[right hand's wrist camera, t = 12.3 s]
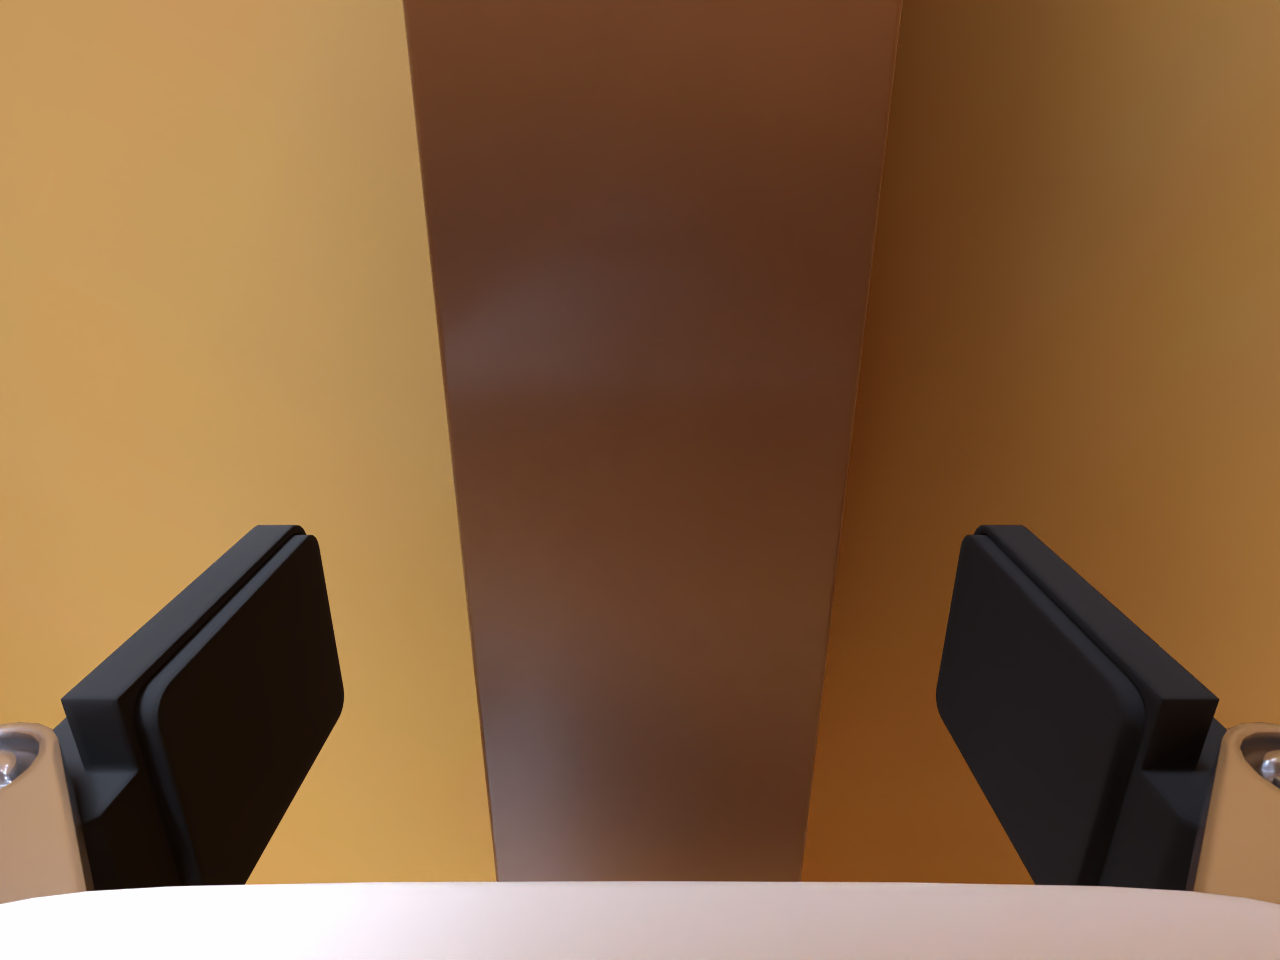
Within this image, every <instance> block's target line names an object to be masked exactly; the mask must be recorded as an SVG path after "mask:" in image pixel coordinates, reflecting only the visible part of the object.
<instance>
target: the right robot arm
mask: <svg viewBox="0 0 1280 960" xmlns="http://www.w3.org/2000/svg"><path fill="white" fill-rule="evenodd" d="M61 702H62V705H63V708H64V711H65V714H66V718H65V719H64V720H63V721H62V722H61V723H60V724H59V725H58V726H57V727H56V728H54V729H53V730H52V729H51V728H48V727H46V726H43V725H41V724H38V723H22V722H18V723H10V724H2V725H0V960H1280V725H1278V724H1270V723H1262V722H1258V723H1242V724H1239V725H1237V726H1234V727H1232V728H1229V729H1228V730H1227V729H1226V728H1224V727H1223V726H1222V725H1221V724H1220V723H1219V722H1218V721H1217V720H1216V719H1215V718H1214V717H1213V716H1214V714H1215V711H1216V708H1217V705H1218V702H1219V699H1218V698H1217V697H1216V696H1215V695H1214V694H1213V693H1212V692H1211V691H1209V690H1208V689H1207V688H1206V687H1205V686H1204V685H1203V684H1202V683H1200V682H1199V681H1198V680H1197V679H1196V678H1195V677H1194V676H1193V675H1191V674H1190V673H1189V672H1188V671H1187V670H1186V669H1185V668H1184V667H1182V666H1181V665H1180V664H1179V663H1178V662H1177V661H1176V660H1175V659H1173V658H1172V657H1171V656H1170V655H1169V654H1168V653H1167V652H1166V651H1164V650H1163V649H1162V648H1161V647H1160V646H1159V645H1158V644H1157V643H1155V642H1154V641H1153V640H1152V639H1151V638H1150V637H1149V636H1148V635H1146V634H1145V633H1144V632H1143V631H1142V630H1141V629H1140V628H1139V627H1137V626H1136V625H1135V624H1134V623H1133V622H1132V621H1131V620H1130V619H1128V618H1127V617H1126V616H1125V615H1124V614H1123V613H1122V612H1121V611H1119V610H1118V609H1117V608H1116V607H1115V606H1114V605H1113V604H1112V603H1110V602H1109V601H1108V600H1107V599H1106V598H1105V597H1104V596H1103V595H1101V594H1100V593H1099V592H1098V591H1097V590H1096V589H1095V588H1094V587H1092V586H1091V585H1090V584H1089V583H1088V582H1087V581H1086V580H1085V579H1083V578H1082V577H1081V576H1080V575H1079V574H1078V573H1077V572H1076V571H1074V570H1073V569H1072V568H1071V567H1070V566H1069V565H1068V564H1067V563H1065V562H1064V561H1063V560H1062V559H1061V558H1060V557H1059V556H1058V555H1056V554H1055V553H1054V552H1053V551H1052V550H1051V549H1050V548H1049V547H1048V546H1046V545H1045V544H1044V543H1043V542H1042V541H1041V540H1040V539H1039V538H1037V537H1036V536H1035V535H1034V534H1033V533H1032V532H1031V531H1030V530H1028V529H1027V528H1026V527H1024V526H1022V525H981V526H979V527H978V528H977V529H976V531H975V533H974V535H967V536H966V537H964V539H963V541H962V544H961V549H960V555H959V560H958V566H957V572H956V578H955V584H954V589H953V595H952V601H951V607H950V613H949V618H948V624H947V630H946V636H945V642H944V648H943V653H942V659H941V665H940V671H939V677H938V682H937V688H936V702H937V708H938V711H939V714H940V716H941V718H942V720H943V722H944V724H945V725H946V727H947V729H948V731H949V733H950V734H951V736H952V738H953V740H954V741H955V743H956V745H957V747H958V749H959V750H960V752H961V754H962V756H963V757H964V759H965V761H966V763H967V764H968V766H969V768H970V770H971V772H972V773H973V775H974V777H975V779H976V780H977V782H978V784H979V786H980V787H981V789H982V791H983V793H984V795H985V796H986V798H987V800H988V802H989V803H990V805H991V807H992V809H993V811H994V812H995V814H996V816H997V818H998V819H999V821H1000V823H1001V825H1002V826H1003V828H1004V830H1005V832H1006V834H1007V835H1008V837H1009V839H1010V841H1011V842H1012V844H1013V846H1014V848H1015V849H1016V851H1017V853H1018V855H1019V857H1020V858H1021V860H1022V862H1023V864H1024V865H1025V867H1026V869H1027V871H1028V873H1029V874H1030V876H1031V878H1032V880H1033V881H1034V883H1035V885H1013V884H961V883H909V882H715V881H565V882H371V883H319V884H267V885H245V883H246V881H247V880H248V878H249V876H250V874H251V873H252V871H253V869H254V867H255V865H256V864H257V862H258V860H259V858H260V857H261V855H262V853H263V851H264V849H265V848H266V846H267V844H268V842H269V841H270V839H271V837H272V835H273V834H274V832H275V830H276V828H277V826H278V825H279V823H280V821H281V819H282V818H283V816H284V814H285V812H286V811H287V809H288V807H289V805H290V803H291V802H292V800H293V798H294V796H295V795H296V793H297V791H298V789H299V787H300V786H301V784H302V782H303V780H304V779H305V777H306V775H307V773H308V772H309V770H310V768H311V766H312V764H313V763H314V761H315V759H316V757H317V756H318V754H319V752H320V750H321V749H322V747H323V745H324V743H325V741H326V740H327V738H328V736H329V734H330V733H331V731H332V729H333V727H334V725H335V724H336V722H337V720H338V718H339V716H340V714H341V711H342V708H343V702H344V688H343V682H342V677H341V671H340V665H339V659H338V653H337V648H336V642H335V636H334V630H333V624H332V619H331V613H330V607H329V601H328V595H327V589H326V584H325V578H324V572H323V566H322V560H321V555H320V549H319V544H318V541H317V539H316V537H314V536H313V535H306V533H305V531H304V529H303V528H302V527H301V526H299V525H258V526H256V527H254V528H253V529H252V530H250V531H249V532H248V533H247V534H246V535H245V536H244V537H243V538H241V539H240V540H239V541H238V542H237V543H236V544H235V545H234V546H232V547H231V548H230V549H229V550H228V551H227V552H226V553H225V554H223V555H222V556H221V557H220V558H219V559H218V560H217V561H216V562H214V563H213V564H212V565H211V566H210V567H209V568H208V569H207V570H205V571H204V572H203V573H202V574H201V575H200V576H199V577H198V578H197V579H195V580H194V581H193V582H192V583H191V584H190V585H189V586H188V587H186V588H185V589H184V590H183V591H182V592H181V593H180V594H179V595H177V596H176V597H175V598H174V599H173V600H172V601H171V602H170V603H168V604H167V605H166V606H165V607H164V608H163V609H162V610H161V611H159V612H158V613H157V614H156V615H155V616H154V617H153V618H152V619H150V620H149V621H148V622H147V623H146V624H145V625H144V626H143V627H141V628H140V629H139V630H138V631H137V632H136V633H135V634H134V635H132V636H131V637H130V638H129V639H128V640H127V641H126V642H125V643H123V644H122V645H121V646H120V647H119V648H118V649H117V650H116V651H114V652H113V653H112V654H111V655H110V656H109V657H108V658H107V659H105V660H104V661H103V662H102V663H101V664H100V665H99V666H98V667H96V668H95V669H94V670H93V671H92V672H91V673H90V674H89V675H87V676H86V677H85V678H84V679H83V680H82V681H81V682H80V683H78V684H77V685H76V686H75V687H74V688H73V689H72V690H71V691H69V692H68V693H67V694H66V695H65V696H64V697H63V698H62V699H61Z"/></svg>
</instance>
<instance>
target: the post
mask: <svg viewBox="0 0 1280 960" xmlns="http://www.w3.org/2000/svg"><path fill="white" fill-rule="evenodd" d="M902 1H903V0H403V10H404V19H405V28H406V38H407V47H408V56H409V66H410V75H411V84H412V94H413V103H414V113H415V122H416V131H417V141H418V150H419V159H420V169H421V178H422V188H423V197H424V206H425V216H426V225H427V234H428V244H429V253H430V263H431V272H432V281H433V291H434V300H435V309H436V319H437V328H438V337H439V347H440V356H441V366H442V375H443V384H444V394H445V403H446V412H447V422H448V431H449V441H450V450H451V459H452V469H453V478H454V487H455V497H456V506H457V515H458V525H459V534H460V544H461V553H462V562H463V572H464V581H465V590H466V600H467V609H468V619H469V628H470V637H471V647H472V656H473V665H474V675H475V684H476V694H477V703H478V712H479V722H480V731H481V740H482V750H483V759H484V768H485V778H486V787H487V797H488V806H489V815H490V825H491V834H492V843H493V853H494V862H495V872H496V881H497V882H565V881H715V882H801V875H802V866H803V858H804V849H805V840H806V832H807V823H808V814H809V806H810V797H811V789H812V780H813V771H814V763H815V754H816V745H817V737H818V728H819V719H820V711H821V702H822V693H823V685H824V676H825V667H826V659H827V650H828V641H829V633H830V624H831V616H832V607H833V598H834V590H835V581H836V572H837V564H838V555H839V546H840V538H841V529H842V520H843V512H844V503H845V494H846V486H847V477H848V468H849V460H850V451H851V442H852V434H853V425H854V417H855V408H856V399H857V391H858V382H859V373H860V365H861V356H862V347H863V339H864V330H865V321H866V313H867V304H868V295H869V287H870V278H871V269H872V261H873V252H874V244H875V235H876V226H877V218H878V209H879V200H880V192H881V183H882V174H883V166H884V157H885V148H886V140H887V131H888V122H889V114H890V105H891V96H892V88H893V79H894V71H895V62H896V53H897V45H898V36H899V27H900V19H901V10H902Z"/></svg>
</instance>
